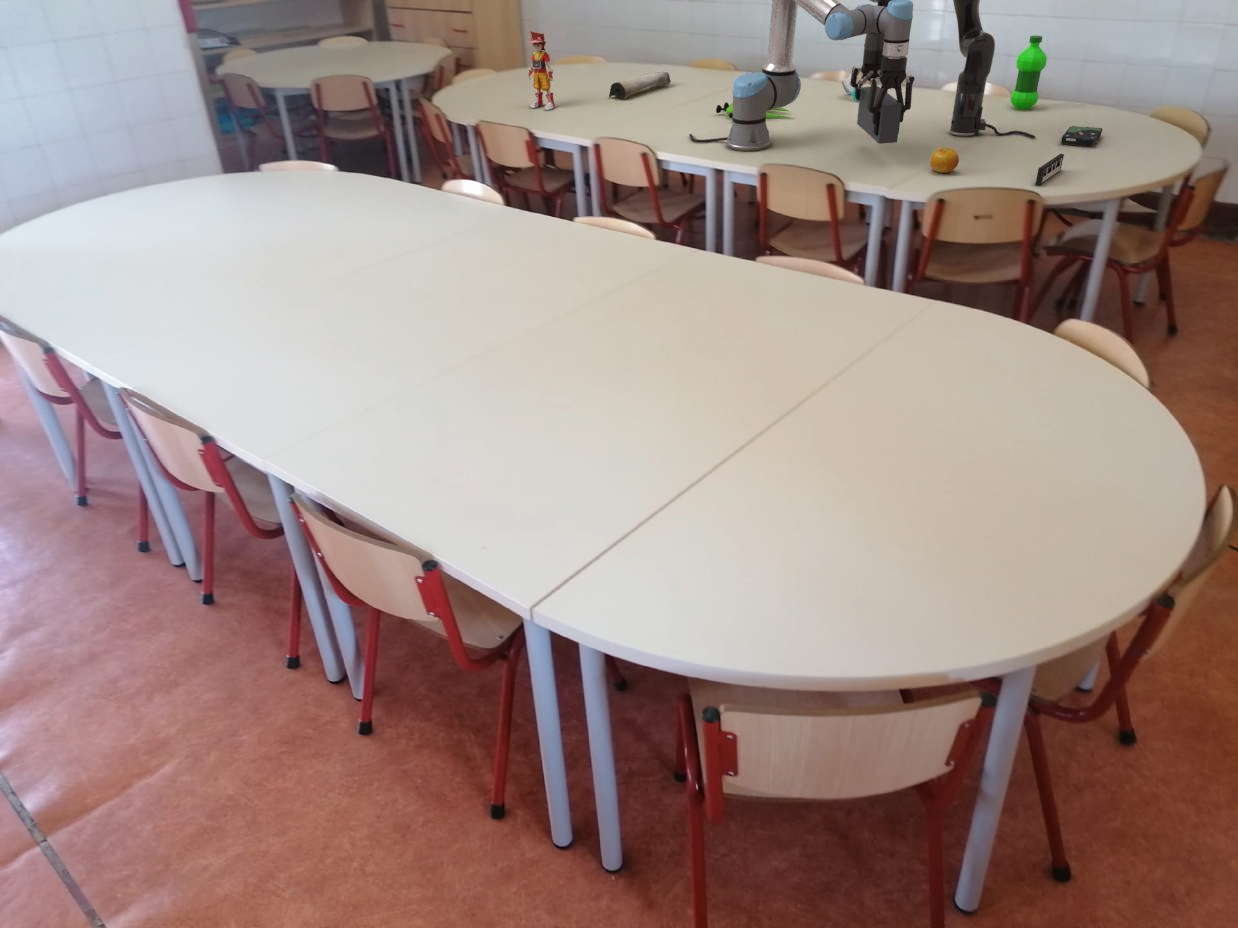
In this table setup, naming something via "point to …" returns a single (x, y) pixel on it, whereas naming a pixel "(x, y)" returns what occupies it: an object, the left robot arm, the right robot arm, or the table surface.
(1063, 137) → the disk drive
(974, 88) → the right robot arm
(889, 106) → the box
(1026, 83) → the plastic bottle
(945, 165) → the fruit
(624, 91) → the rolled mat
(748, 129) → the left robot arm
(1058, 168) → the midi keyboard
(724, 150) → the table surface
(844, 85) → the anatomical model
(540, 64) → the toy
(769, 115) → the toy
